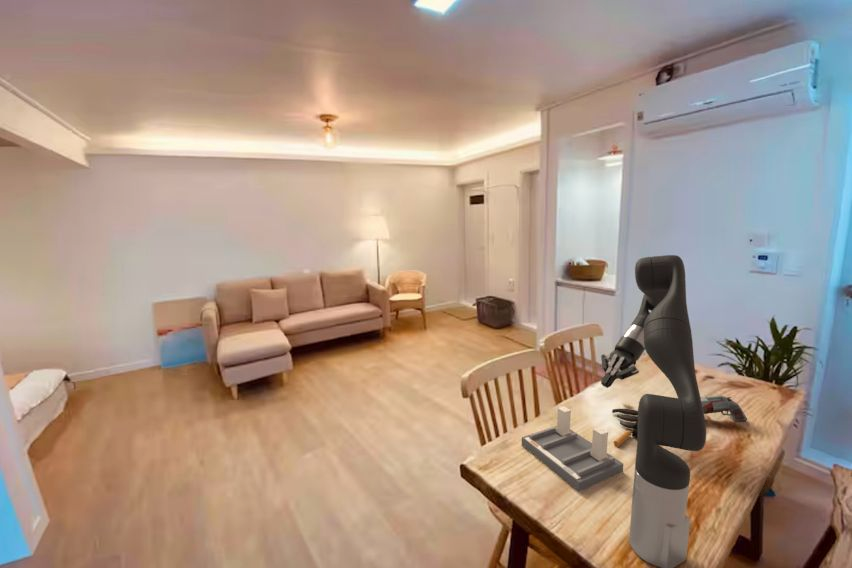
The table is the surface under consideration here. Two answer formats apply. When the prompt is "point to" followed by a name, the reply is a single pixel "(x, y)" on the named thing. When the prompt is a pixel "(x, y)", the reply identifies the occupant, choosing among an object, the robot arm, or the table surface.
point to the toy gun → (723, 407)
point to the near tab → (599, 444)
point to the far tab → (563, 421)
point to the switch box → (571, 457)
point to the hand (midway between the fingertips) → (604, 385)
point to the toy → (627, 424)
